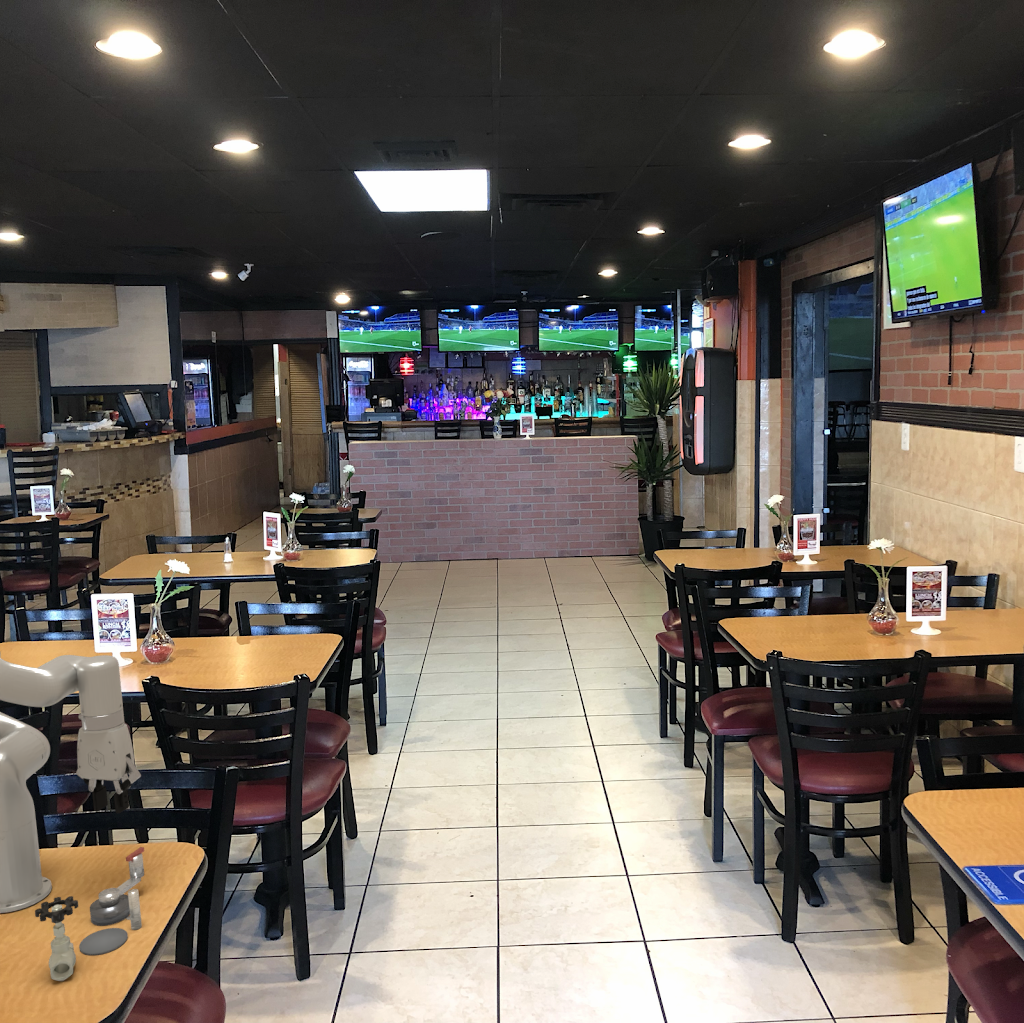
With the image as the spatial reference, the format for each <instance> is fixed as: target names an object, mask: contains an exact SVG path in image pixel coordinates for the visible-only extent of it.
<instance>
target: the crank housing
mask: <svg viewBox="0 0 1024 1023" xmlns="http://www.w3.org/2000/svg"><path fill="white" fill-rule="evenodd" d="M140 904H141V903H140V894H139V889H138V888H131V889H129V890H128V891H127V894H125V893H124V894H123V895H121V896H120V901H119V902H118V903H117V904H115V905H112V906H108V907H102V906H100V905H99V898H98V899H96V900H94V901H93V902H92V903H91V904H90V906H89V914H90V922H91V924H92V925H94V926H98V927H104V926H105V927H106V926H111V925H114V924H115V925H116V924H118V923H120V922H122V921H124V920H129V922H130V930H131V931H135V930H140V929H141V928H142V914H141V905H140Z"/></svg>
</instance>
